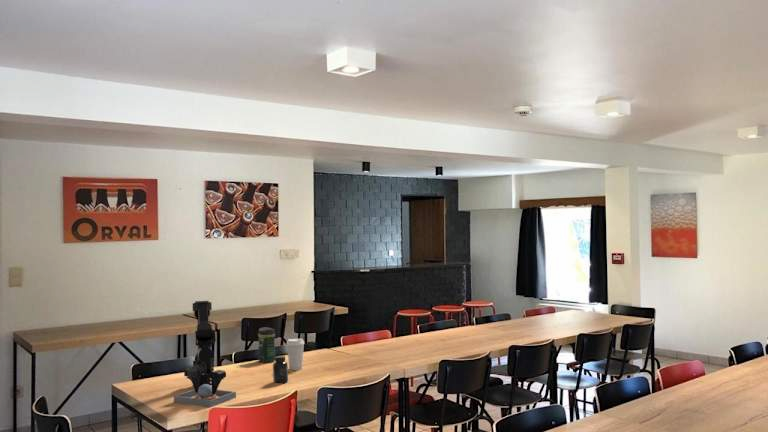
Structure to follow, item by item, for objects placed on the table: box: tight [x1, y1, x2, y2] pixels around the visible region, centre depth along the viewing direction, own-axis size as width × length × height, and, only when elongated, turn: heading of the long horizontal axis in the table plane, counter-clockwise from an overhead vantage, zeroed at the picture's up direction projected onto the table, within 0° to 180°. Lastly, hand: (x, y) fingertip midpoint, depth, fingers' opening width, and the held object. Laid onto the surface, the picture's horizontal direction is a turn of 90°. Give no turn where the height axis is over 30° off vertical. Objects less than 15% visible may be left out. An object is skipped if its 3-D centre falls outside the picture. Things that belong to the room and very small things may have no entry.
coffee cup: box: [285, 338, 305, 371], centre depth 333 cm, size 10×10×15 cm
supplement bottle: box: [272, 355, 289, 384], centre depth 304 cm, size 7×7×12 cm
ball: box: [198, 384, 212, 398], centre depth 275 cm, size 6×6×6 cm
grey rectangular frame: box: [173, 389, 237, 408], centre depth 274 cm, size 20×16×2 cm
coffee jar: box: [257, 326, 276, 363], centre depth 354 cm, size 10×8×19 cm
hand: (205, 393), depth 275 cm, fingers open, 9 cm apart
